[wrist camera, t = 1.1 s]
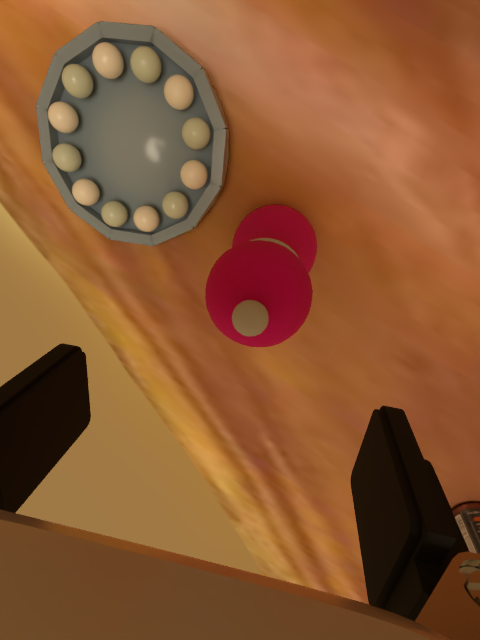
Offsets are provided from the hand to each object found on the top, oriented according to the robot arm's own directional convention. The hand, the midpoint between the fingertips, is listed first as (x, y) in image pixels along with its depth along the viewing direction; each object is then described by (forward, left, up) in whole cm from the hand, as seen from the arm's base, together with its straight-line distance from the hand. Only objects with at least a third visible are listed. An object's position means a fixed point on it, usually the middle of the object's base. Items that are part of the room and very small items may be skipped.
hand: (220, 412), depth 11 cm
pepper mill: (0, 0, -26) cm, 26 cm away
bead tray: (-7, -14, -26) cm, 30 cm away
